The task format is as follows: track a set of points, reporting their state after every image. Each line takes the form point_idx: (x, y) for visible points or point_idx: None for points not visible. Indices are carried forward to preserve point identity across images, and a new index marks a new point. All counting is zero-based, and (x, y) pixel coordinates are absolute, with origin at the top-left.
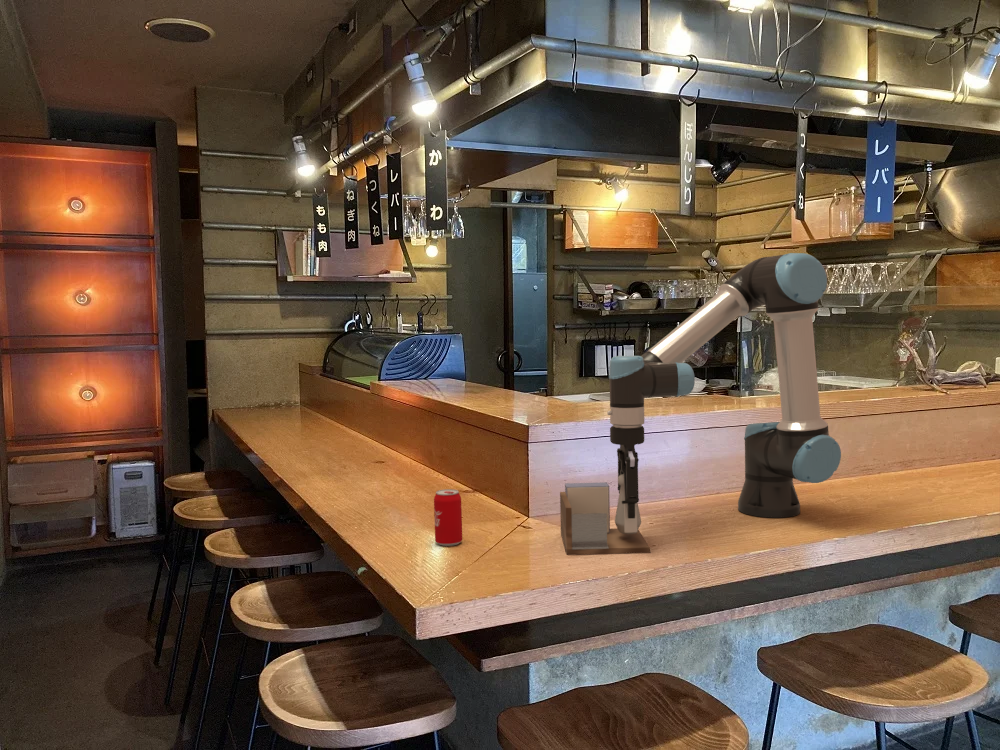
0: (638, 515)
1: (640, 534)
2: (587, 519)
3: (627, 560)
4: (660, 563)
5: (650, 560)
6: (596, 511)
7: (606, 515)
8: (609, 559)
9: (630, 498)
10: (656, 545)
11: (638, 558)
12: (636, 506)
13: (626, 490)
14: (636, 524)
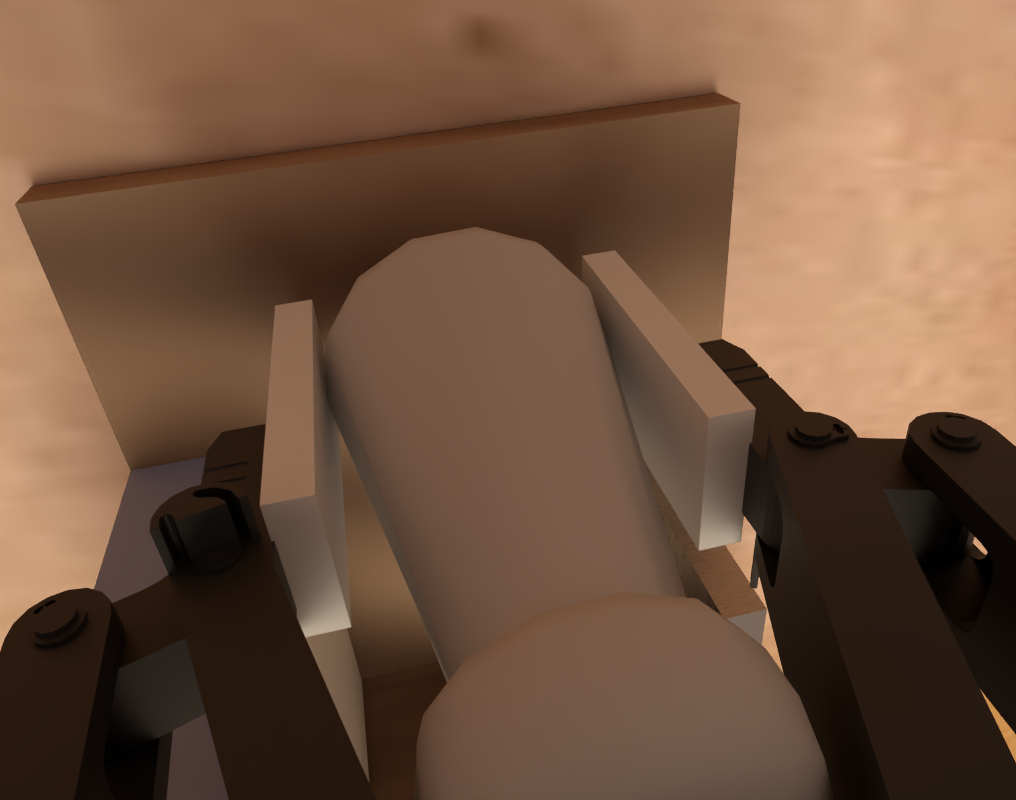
0: (564, 298)
1: (297, 177)
2: None
3: (858, 274)
4: (990, 28)
5: (900, 106)
6: (322, 674)
7: (757, 599)
8: (811, 384)
9: (970, 536)
10: (487, 10)
11: (833, 197)
12: (734, 387)
13: (978, 664)
14: (642, 287)
